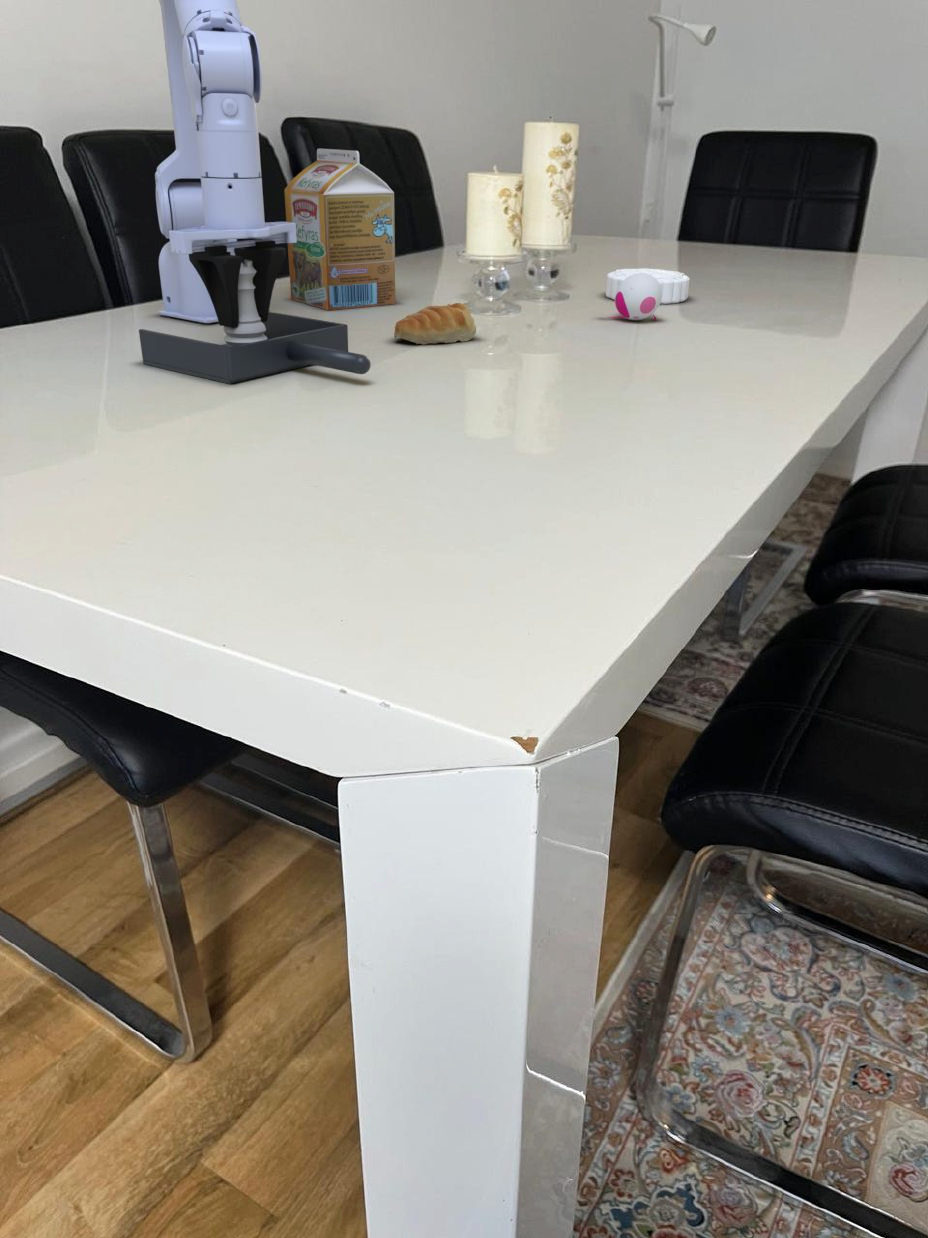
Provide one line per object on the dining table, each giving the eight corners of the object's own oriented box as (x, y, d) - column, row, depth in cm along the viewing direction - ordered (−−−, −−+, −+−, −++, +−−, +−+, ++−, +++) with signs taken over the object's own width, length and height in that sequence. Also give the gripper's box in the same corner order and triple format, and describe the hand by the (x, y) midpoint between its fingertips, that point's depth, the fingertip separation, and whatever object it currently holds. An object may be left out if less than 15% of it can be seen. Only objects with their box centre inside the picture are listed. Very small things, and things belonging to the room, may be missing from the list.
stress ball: (617, 339, 130) (592, 296, 128) (669, 305, 128) (645, 261, 126) (621, 348, 123) (595, 303, 121) (677, 313, 121) (651, 266, 119)
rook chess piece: (226, 338, 101) (219, 257, 97) (269, 338, 101) (264, 258, 98) (220, 347, 97) (213, 263, 93) (265, 347, 97) (259, 264, 94)
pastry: (415, 349, 106) (415, 313, 105) (381, 339, 111) (380, 304, 109) (481, 339, 112) (481, 305, 110) (445, 330, 116) (445, 297, 115)
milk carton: (291, 299, 135) (282, 148, 126) (356, 293, 140) (351, 148, 132) (328, 310, 127) (321, 150, 119) (395, 303, 133) (393, 150, 124)
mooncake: (674, 291, 148) (677, 266, 146) (697, 304, 137) (700, 278, 135) (597, 290, 147) (599, 266, 145) (614, 304, 136) (617, 277, 134)
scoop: (142, 363, 98) (138, 329, 96) (260, 340, 109) (258, 309, 108) (308, 402, 85) (306, 363, 84) (421, 371, 97) (421, 336, 95)
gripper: (198, 181, 85) (214, 338, 91) (314, 176, 95) (321, 318, 101) (148, 177, 88) (166, 329, 95) (265, 173, 99) (274, 310, 105)
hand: (243, 323), depth 98 cm, fingers closed on rook chess piece, 3 cm apart
